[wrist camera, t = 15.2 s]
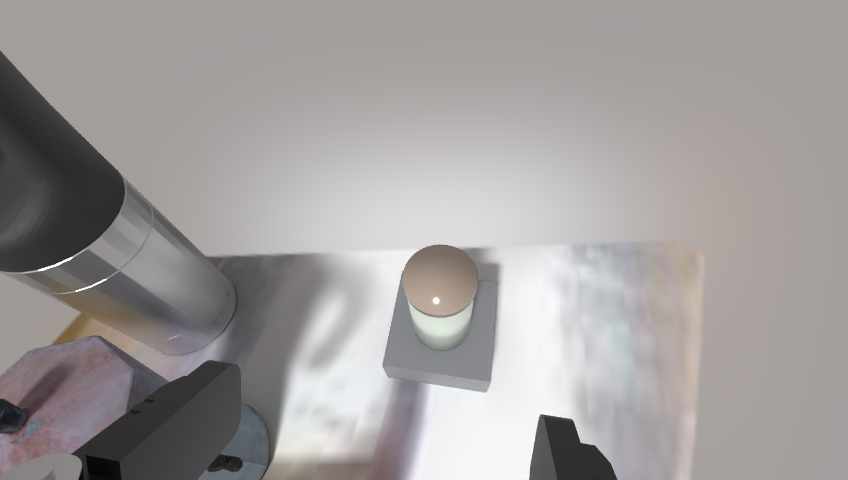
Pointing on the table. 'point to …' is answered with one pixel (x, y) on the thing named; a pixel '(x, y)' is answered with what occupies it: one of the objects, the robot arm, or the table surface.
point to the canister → (440, 295)
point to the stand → (444, 367)
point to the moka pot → (97, 406)
